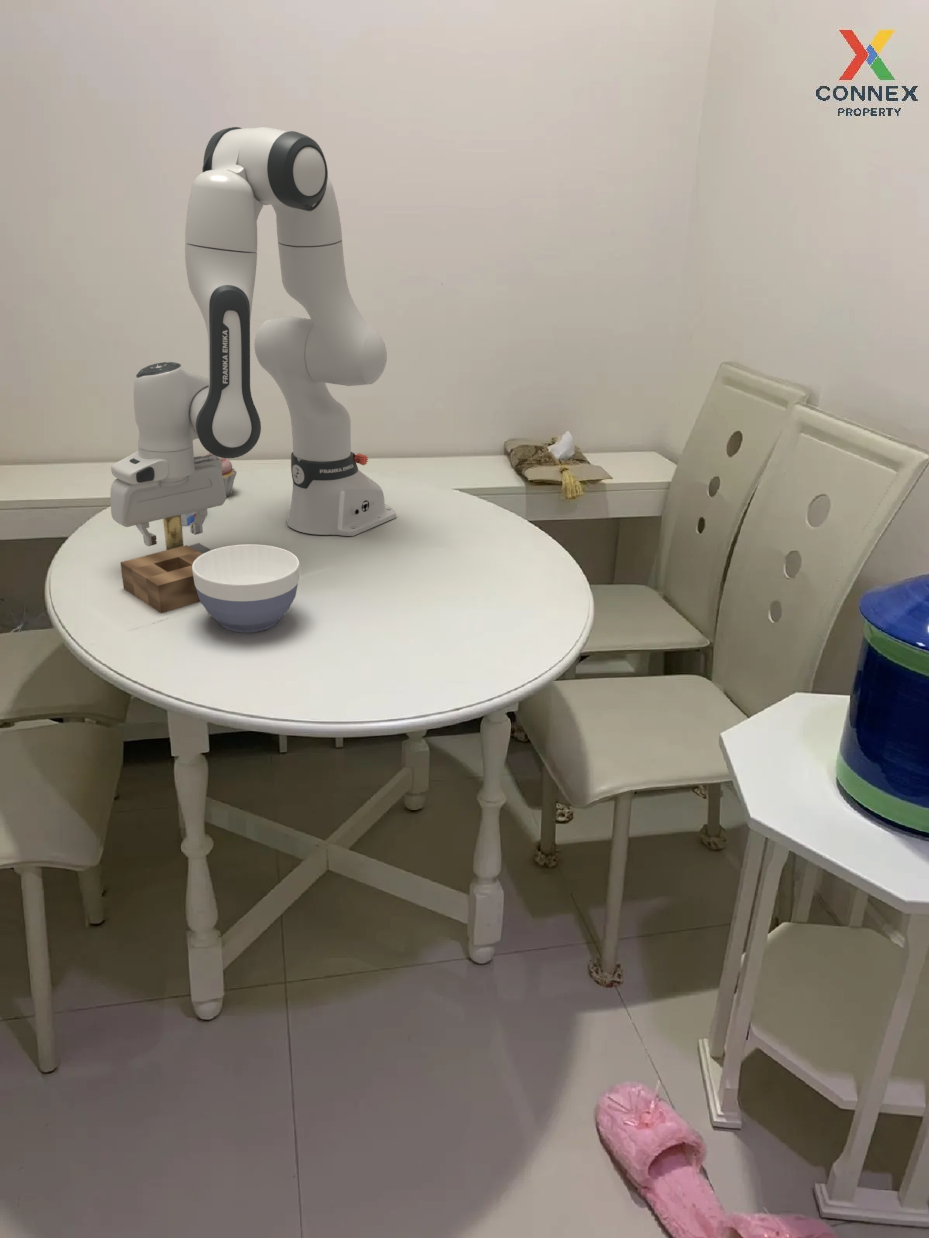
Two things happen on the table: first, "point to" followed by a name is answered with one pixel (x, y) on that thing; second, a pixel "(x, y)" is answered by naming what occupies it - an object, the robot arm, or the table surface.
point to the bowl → (246, 585)
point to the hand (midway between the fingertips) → (174, 538)
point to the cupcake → (227, 474)
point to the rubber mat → (200, 548)
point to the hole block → (162, 578)
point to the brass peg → (173, 532)
